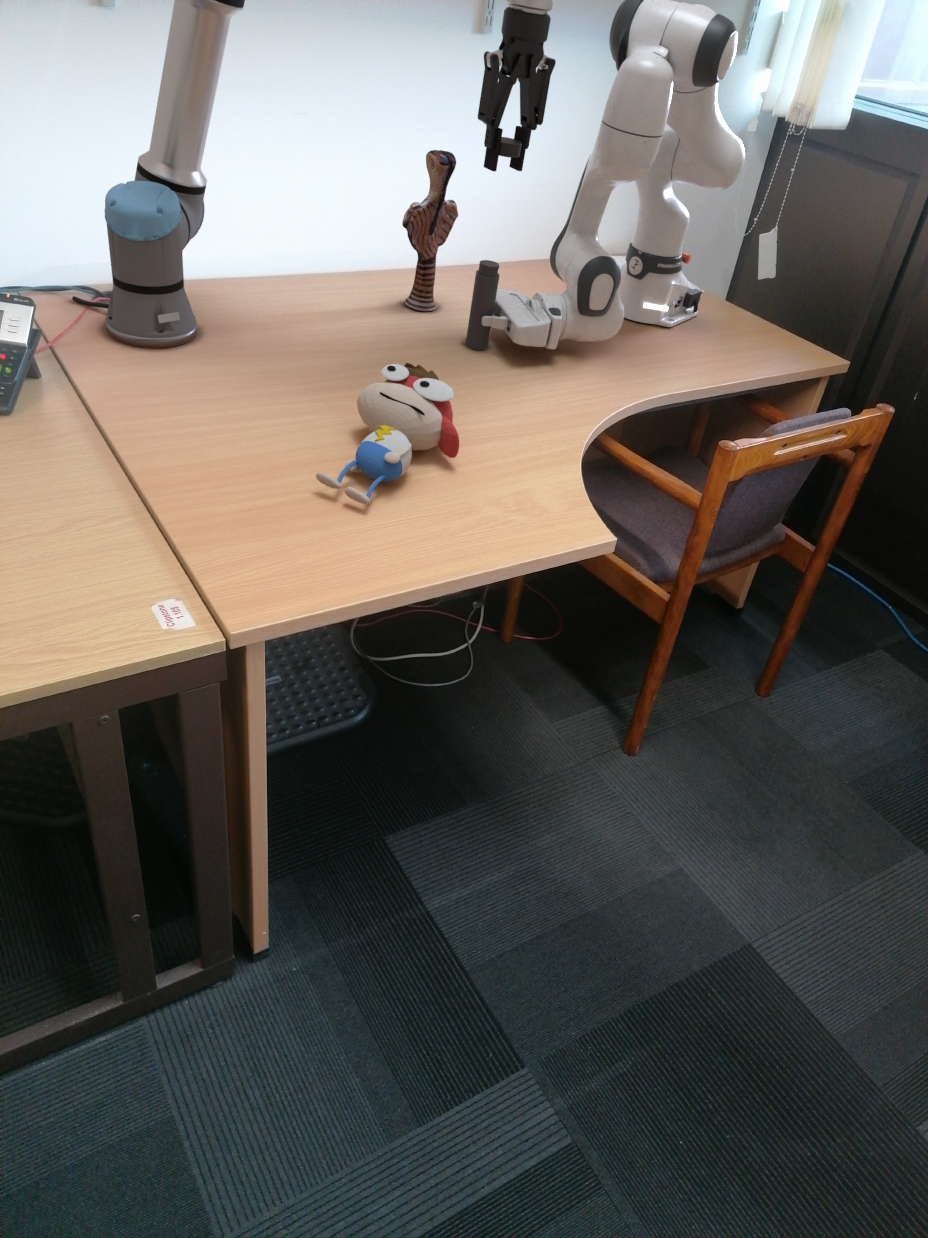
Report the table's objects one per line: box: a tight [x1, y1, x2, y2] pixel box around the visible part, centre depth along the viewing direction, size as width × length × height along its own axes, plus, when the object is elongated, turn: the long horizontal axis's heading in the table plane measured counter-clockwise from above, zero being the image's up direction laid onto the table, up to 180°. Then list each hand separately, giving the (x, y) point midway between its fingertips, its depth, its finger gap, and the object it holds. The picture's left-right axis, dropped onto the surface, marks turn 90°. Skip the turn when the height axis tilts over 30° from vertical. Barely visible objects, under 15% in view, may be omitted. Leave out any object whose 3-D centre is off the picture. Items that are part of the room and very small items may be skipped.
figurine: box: [401, 149, 459, 312], centre depth 178 cm, size 15×8×30 cm, turn 144°
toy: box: [315, 362, 460, 505], centre depth 132 cm, size 18×10×30 cm
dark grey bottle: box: [465, 259, 500, 351], centre depth 170 cm, size 4×4×16 cm
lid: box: [499, 136, 522, 159], centre depth 153 cm, size 5×5×2 cm
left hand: (502, 168), depth 155 cm, fingers closed on lid, 5 cm apart
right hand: (477, 313), depth 170 cm, fingers closed on dark grey bottle, 4 cm apart
